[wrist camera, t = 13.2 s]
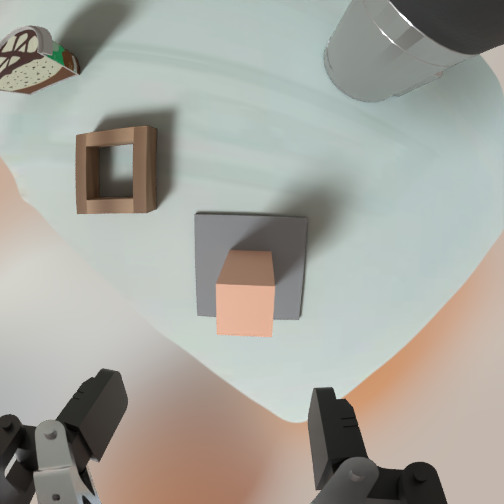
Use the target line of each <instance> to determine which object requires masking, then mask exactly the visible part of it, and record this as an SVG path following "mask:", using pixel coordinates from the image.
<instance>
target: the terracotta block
mask: <svg viewBox="0 0 504 504" xmlns="http://www.w3.org/2000/svg"><path fill="white" fill-rule="evenodd" d="M274 297H275V281H274V271H273V262H272V253H271V251H247V250H229V253H228V255H227V257H226V260H225V262H224V265H223V267H222V270H221V272H220V275H219V277H218V280H217V282H216V316H217V334H218V335H236V336H260V337H272V328H273V313H274Z"/></svg>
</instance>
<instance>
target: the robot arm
mask: <svg viewBox="0 0 504 504" xmlns="http://www.w3.org/2000/svg"><path fill="white" fill-rule="evenodd" d="M503 44H504V0H352V1H351V3H350V5H349V6H348V8H347V10H346V12H345V13H344V15H343V17H342V19H341V21H340V22H339V24H338V26H337V28H336V30H335V31H334V33H333V35H332V37H331V38H330V40H329V42H328V44H327V46H326V49H325V52H324V64H325V68H326V71H327V74H328V75H329V77H330V79H331V80H332V82H333V83H334V84H335V85H336V86H337V87H338V88H339V89H340V90H341V91H342V92H344V93H345V94H347V95H348V96H350V97H352V98H354V99H357V100H360V101H364V102H378V101H382V100H385V99H387V98H389V97H390V96H392V95H394V96H401V95H403V94H406V93H408V92H410V91H412V90H414V89H416V88H418V87H420V86H422V85H425V84H427V83H429V82H431V81H433V80H436V79H438V78H440V77H441V76H442V74H443V70H445V69H447V68H449V67H451V66H454V65H456V64H458V63H460V62H462V61H464V60H466V59H469V58H471V57H473V56H476V55H478V54H480V53H483V52H485V51H487V50H490V49H492V48H494V47H497V46H500V45H503ZM127 405H128V398H127V394H126V391H125V388H124V384H123V381H122V377H121V374H120V373H119V372H118V371H113V370H109V369H101V370H100V371H99V373H98V374H97V375H96V377H95V378H93V377H91V378H90V379H88V380H87V381H85V382H84V383H82V385H81V386H80V388H79V389H78V390H77V392H76V393H75V394H74V395H73V398H71V399H70V401H69V402H68V403H67V405H66V406H65V408H64V409H63V410H62V412H61V413H60V415H59V416H58V417H57V419H56V420H46V421H44V422H42V423H40V424H39V425H38V426H37V427H34V426H27V425H22V423H21V422H20V420H19V419H18V418H17V417H16V416H15V415H11V414H9V415H4V416H2V417H0V504H30V501H31V500H32V497H33V495H34V493H35V491H36V494H37V500H38V504H102V503H101V502H100V499H99V497H98V494H97V491H96V488H95V485H94V483H93V480H92V476H91V473H90V470H89V467H88V465H87V463H88V461H89V460H93V461H96V462H99V461H100V460H101V458H102V456H103V454H104V452H105V450H106V448H107V446H108V444H109V442H110V440H111V438H112V436H113V434H114V432H115V430H116V428H117V426H118V424H119V423H120V421H121V419H122V417H123V415H124V413H125V411H126V408H127ZM308 430H309V437H310V445H311V453H312V461H313V471H314V479H315V488H316V490H321V492H320V493H319V494H318V495H317V496H316V498H315V499H314V500H313V501H312V502H311V503H310V504H447V501H446V498H445V494H444V492H443V488H442V486H441V482H440V479H439V477H438V474H437V471H436V470H435V468H434V467H433V466H432V465H430V464H428V463H425V462H415V463H412V464H410V465H408V466H407V467H406V468H405V469H404V470H396V469H386V468H381V467H379V466H377V465H376V464H375V463H374V462H373V461H372V460H370V459H369V458H368V456H367V453H366V449H365V446H364V442H363V439H362V436H361V432H360V429H359V427H358V422H357V419H356V416H355V413H354V409H353V407H352V406H351V405H350V404H349V403H348V401H347V400H346V399H336V396H335V393H334V389H333V387H326V388H314V389H313V393H312V398H311V403H310V408H309V413H308ZM13 456H14V457H15V458H16V461H15V463H14V464H13V466H12V468H11V469H10V471H9V473H8V474H7V476H6V478H5V476H4V472H5V469H6V467H7V465H8V463H9V462H10V460H11V459H12V457H13Z"/></svg>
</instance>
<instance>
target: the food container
mask: <svg viewBox="0 0 504 504" xmlns="http://www.w3.org/2000/svg"><path fill="white" fill-rule="evenodd" d="M78 75H80V67H79V64H78V60H77V59H76V57H75V56H74V55H73V54H72V53H70V52H69V51H67V50H66V49H64V48H63V47H62V46H60V45H59V44H57V43H56V42H54V41H53V40H52V37H51V35H50V33H49V31H48V30H47V29H45V28H43V27H37V26H24V27H20V28H17V29H16V30H14V31H12V32H11V33H10V34H8V35H7V36H6V37H5V38H4V39H3V40H2V41H1V42H0V91H5V92H13V93H20V94H27V95H32V94H34V93H36V92H38V91H40V90H43V89H45V88H47V87H50V86H52V85H54V84H57V83H59V82H62V81H64V80H67V79H70V78H72V77H75V76H78Z"/></svg>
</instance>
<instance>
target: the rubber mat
mask: <svg viewBox="0 0 504 504" xmlns="http://www.w3.org/2000/svg"><path fill="white" fill-rule="evenodd" d="M307 219H308V218H304V217H282V216H256V215H221V214H195V269H196V295H197V316H209V317H217V316H216V282H217V280H218V277H219V275H220V272H221V270H222V267H223V265H224V262H225V260H226V257H227V255H228V253H229V250H247V251H271V253H272V262H273V271H274V281H275V297H274V313H273V319H274V320H299V314H300V305H301V295H302V284H303V273H304V261H305V248H306V234H307Z"/></svg>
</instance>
